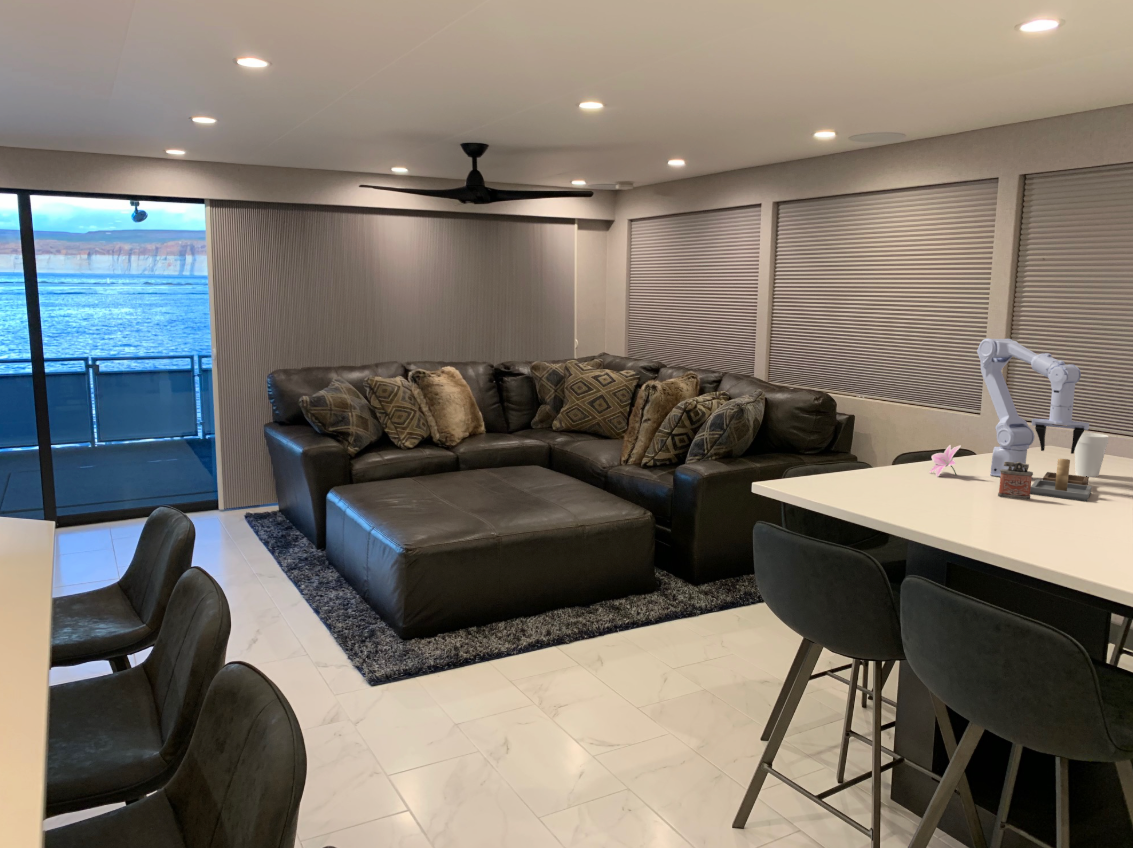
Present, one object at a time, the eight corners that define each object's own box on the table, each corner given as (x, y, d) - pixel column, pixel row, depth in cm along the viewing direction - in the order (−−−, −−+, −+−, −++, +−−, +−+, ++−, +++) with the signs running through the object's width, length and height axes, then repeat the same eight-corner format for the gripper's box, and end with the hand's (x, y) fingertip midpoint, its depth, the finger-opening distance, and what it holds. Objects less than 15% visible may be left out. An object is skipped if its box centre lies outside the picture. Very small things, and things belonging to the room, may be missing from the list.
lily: (931, 472, 276) (921, 447, 274) (970, 462, 271) (959, 436, 268) (933, 491, 266) (922, 465, 264) (973, 480, 261) (962, 454, 258)
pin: (1054, 490, 245) (1057, 459, 243) (1055, 489, 247) (1058, 458, 246) (1066, 492, 243) (1069, 461, 242) (1067, 490, 245) (1070, 459, 244)
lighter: (1029, 497, 239) (1032, 462, 237) (1031, 500, 236) (1035, 464, 234) (996, 494, 241) (1000, 459, 240) (998, 497, 238) (1002, 461, 237)
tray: (1029, 494, 243) (1030, 487, 243) (1035, 485, 255) (1036, 479, 254) (1087, 501, 236) (1088, 494, 235) (1090, 492, 247) (1091, 486, 247)
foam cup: (1104, 479, 268) (1109, 438, 266) (1070, 475, 272) (1074, 435, 270) (1103, 474, 276) (1108, 434, 274) (1069, 470, 280) (1074, 431, 278)
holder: (1042, 485, 255) (1043, 477, 255) (1046, 479, 264) (1047, 471, 264) (1085, 491, 249) (1086, 482, 249) (1087, 485, 258) (1088, 476, 258)
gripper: (1032, 405, 252) (1027, 450, 254) (1089, 409, 244) (1085, 456, 246) (1035, 403, 258) (1031, 448, 260) (1091, 407, 250) (1086, 453, 251)
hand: (1057, 451), depth 253 cm, fingers open, 7 cm apart
